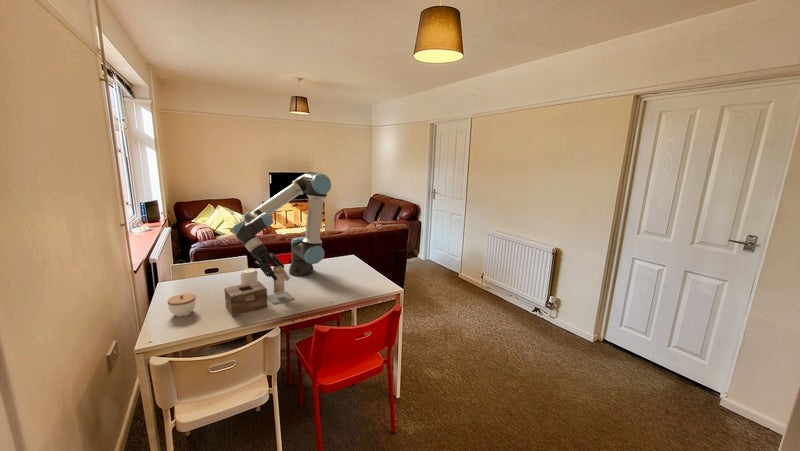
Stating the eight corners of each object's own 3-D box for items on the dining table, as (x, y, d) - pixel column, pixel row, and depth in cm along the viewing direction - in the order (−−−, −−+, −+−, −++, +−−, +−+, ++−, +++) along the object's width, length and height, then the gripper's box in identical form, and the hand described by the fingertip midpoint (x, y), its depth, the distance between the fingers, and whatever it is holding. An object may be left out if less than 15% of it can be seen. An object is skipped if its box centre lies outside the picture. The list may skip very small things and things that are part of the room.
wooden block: (274, 292, 170) (273, 267, 167) (281, 290, 172) (280, 266, 169) (276, 295, 167) (276, 269, 164) (284, 293, 169) (283, 268, 166)
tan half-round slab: (242, 295, 172) (240, 273, 169) (241, 289, 179) (240, 268, 176) (258, 292, 176) (257, 271, 173) (257, 287, 182) (256, 267, 180)
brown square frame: (225, 307, 158) (224, 288, 156) (259, 298, 168) (258, 281, 166) (232, 317, 149) (231, 297, 147) (267, 308, 159) (267, 289, 157)
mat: (266, 296, 171) (266, 295, 171) (286, 292, 178) (286, 291, 178) (273, 304, 163) (273, 303, 163) (294, 299, 170) (294, 298, 170)
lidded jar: (194, 306, 157) (192, 288, 155) (198, 314, 150) (197, 296, 148) (167, 312, 150) (165, 293, 148) (170, 321, 143) (168, 302, 141)
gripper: (263, 247, 177) (290, 279, 177) (239, 257, 160) (269, 292, 159) (271, 239, 175) (299, 271, 175) (248, 248, 157) (279, 284, 157)
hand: (285, 281), depth 167 cm, fingers closed on wooden block, 6 cm apart
